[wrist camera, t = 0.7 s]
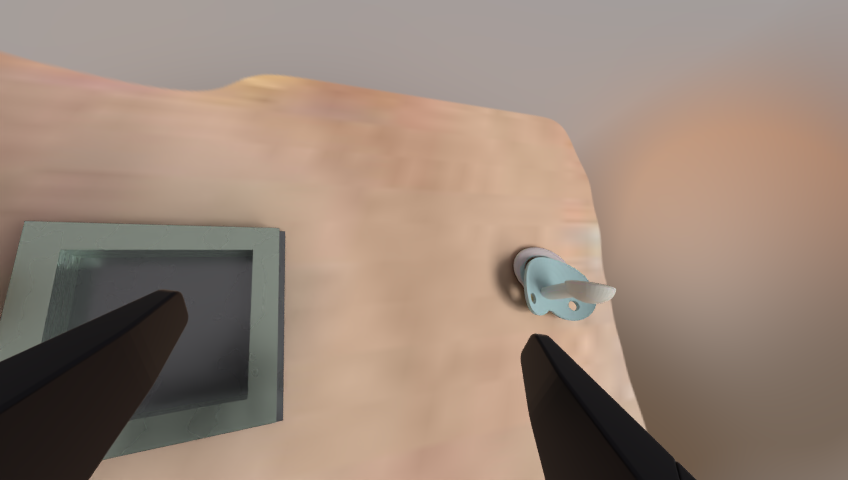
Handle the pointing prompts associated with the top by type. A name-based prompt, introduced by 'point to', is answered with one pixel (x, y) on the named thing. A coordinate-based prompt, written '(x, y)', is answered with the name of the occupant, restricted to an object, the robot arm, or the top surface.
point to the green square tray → (205, 301)
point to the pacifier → (557, 285)
